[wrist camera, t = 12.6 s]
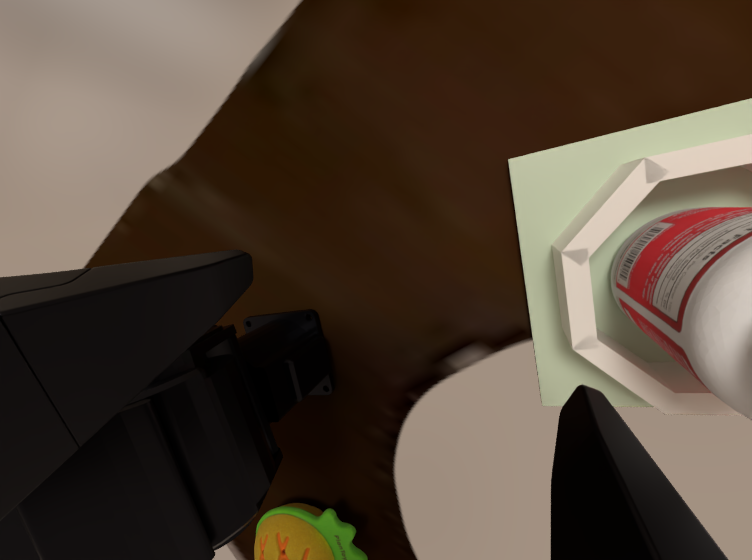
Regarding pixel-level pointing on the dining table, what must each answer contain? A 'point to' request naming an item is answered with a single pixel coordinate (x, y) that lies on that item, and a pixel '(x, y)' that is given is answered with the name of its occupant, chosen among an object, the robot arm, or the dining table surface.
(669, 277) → the pill bottle
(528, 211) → the octagonal tray
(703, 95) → the dining table surface
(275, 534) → the toy pineapple
